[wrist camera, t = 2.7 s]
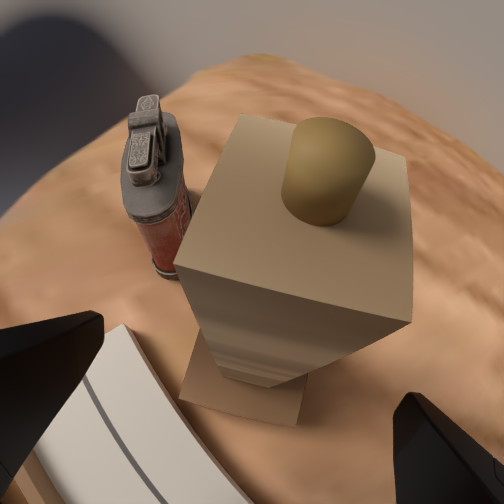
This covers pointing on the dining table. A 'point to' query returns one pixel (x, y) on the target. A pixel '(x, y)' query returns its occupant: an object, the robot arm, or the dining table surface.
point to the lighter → (156, 183)
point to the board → (123, 441)
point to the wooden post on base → (292, 262)
